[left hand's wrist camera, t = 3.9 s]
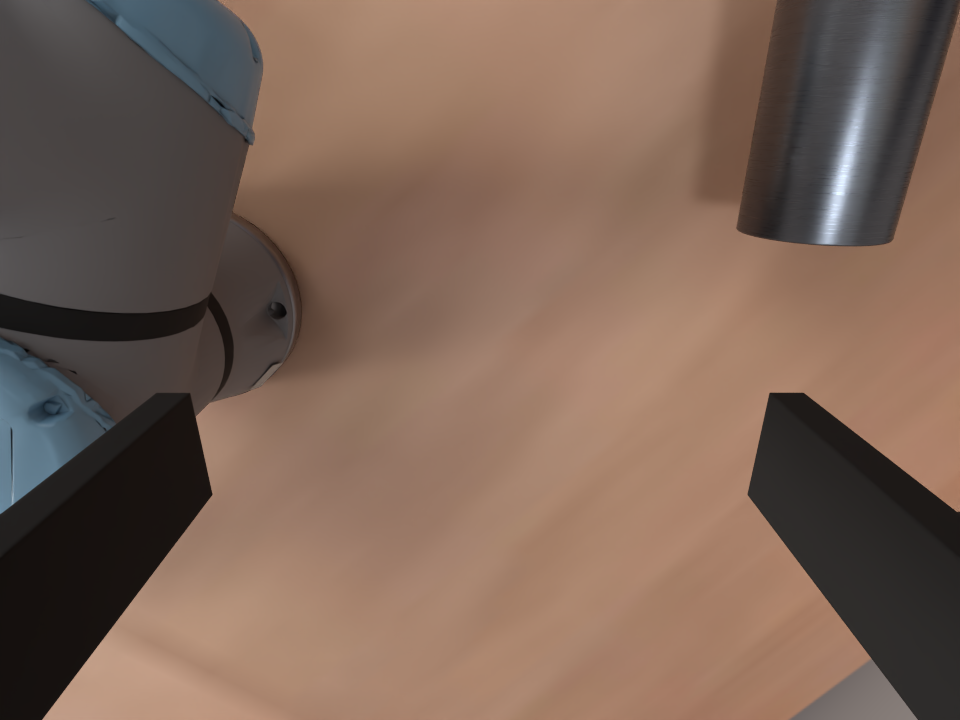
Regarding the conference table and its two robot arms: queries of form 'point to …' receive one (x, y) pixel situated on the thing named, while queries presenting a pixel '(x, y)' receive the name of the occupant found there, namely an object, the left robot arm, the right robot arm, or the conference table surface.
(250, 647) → the conference table surface
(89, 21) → the left robot arm
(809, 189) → the rod
